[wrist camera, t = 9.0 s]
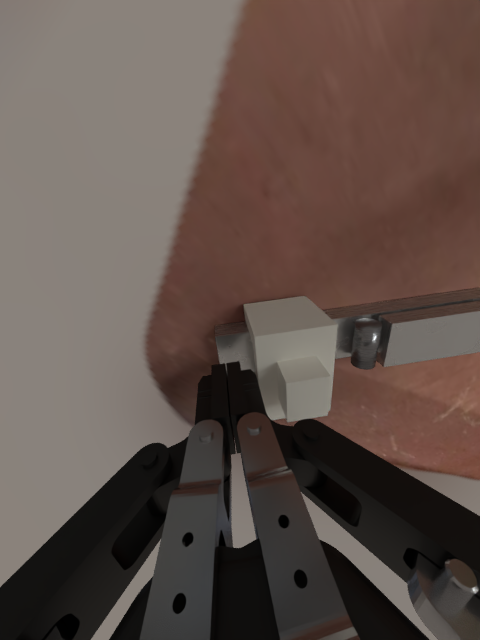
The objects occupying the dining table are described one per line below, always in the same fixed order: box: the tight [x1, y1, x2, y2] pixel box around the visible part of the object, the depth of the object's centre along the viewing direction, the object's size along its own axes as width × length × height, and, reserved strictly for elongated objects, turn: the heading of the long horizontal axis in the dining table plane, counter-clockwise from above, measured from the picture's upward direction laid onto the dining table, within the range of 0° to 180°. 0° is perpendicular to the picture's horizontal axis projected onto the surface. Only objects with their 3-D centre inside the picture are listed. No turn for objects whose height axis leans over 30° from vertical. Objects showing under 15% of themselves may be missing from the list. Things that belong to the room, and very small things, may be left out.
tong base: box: [215, 288, 480, 372], centre depth 15 cm, size 31×4×3 cm, turn 96°
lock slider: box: [243, 296, 338, 422], centre depth 13 cm, size 4×6×6 cm
